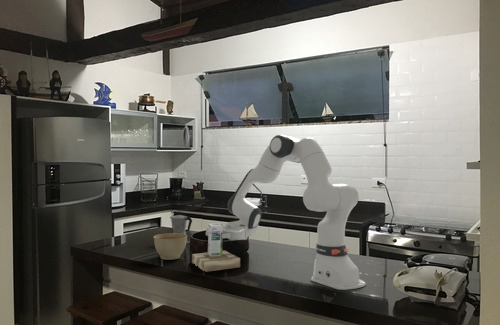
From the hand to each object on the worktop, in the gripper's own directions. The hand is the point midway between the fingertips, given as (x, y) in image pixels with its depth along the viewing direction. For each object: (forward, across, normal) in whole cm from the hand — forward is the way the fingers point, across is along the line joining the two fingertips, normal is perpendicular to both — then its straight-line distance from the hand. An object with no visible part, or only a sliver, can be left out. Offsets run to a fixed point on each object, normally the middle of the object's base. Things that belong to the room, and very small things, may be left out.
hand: (214, 235), depth 191 cm
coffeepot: (-24, -48, +14) cm, 55 cm away
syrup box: (-1, 0, +10) cm, 10 cm away
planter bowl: (+3, -26, +14) cm, 30 cm away
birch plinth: (-1, 0, +14) cm, 14 cm away
